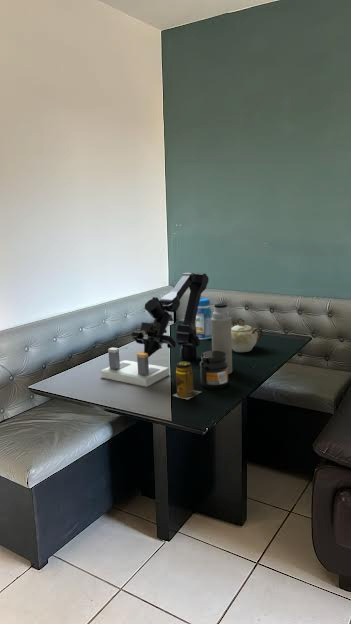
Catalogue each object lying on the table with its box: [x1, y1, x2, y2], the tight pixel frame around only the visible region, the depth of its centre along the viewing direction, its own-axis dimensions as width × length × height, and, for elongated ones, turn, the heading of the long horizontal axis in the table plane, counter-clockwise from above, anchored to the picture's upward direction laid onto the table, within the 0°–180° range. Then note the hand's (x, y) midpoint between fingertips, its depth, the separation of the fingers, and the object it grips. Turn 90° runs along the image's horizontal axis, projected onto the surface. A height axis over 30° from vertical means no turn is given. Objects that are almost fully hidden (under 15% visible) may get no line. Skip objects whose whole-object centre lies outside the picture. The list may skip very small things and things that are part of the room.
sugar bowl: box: [231, 318, 263, 353], centre depth 228 cm, size 20×15×15 cm
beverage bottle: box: [195, 297, 213, 340], centre depth 251 cm, size 8×8×20 cm
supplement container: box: [199, 350, 229, 390], centre depth 187 cm, size 10×10×12 cm
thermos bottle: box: [211, 303, 233, 375], centre depth 199 cm, size 8×8×28 cm
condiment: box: [171, 360, 202, 400], centre depth 179 cm, size 7×8×12 cm
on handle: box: [107, 347, 121, 369], centre depth 201 cm, size 2×4×8 cm, turn 56°
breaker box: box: [100, 359, 170, 387], centre depth 201 cm, size 15×23×3 cm, turn 56°
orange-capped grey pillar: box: [136, 351, 150, 375], centre depth 192 cm, size 2×4×8 cm, turn 56°
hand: (145, 358), depth 193 cm, fingers closed, pressing on orange-capped grey pillar
